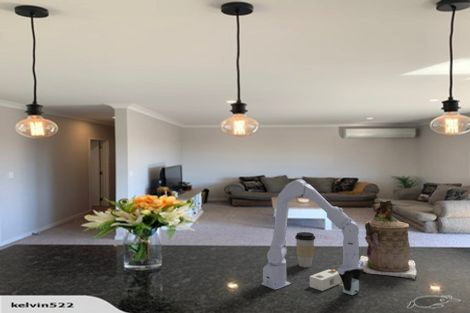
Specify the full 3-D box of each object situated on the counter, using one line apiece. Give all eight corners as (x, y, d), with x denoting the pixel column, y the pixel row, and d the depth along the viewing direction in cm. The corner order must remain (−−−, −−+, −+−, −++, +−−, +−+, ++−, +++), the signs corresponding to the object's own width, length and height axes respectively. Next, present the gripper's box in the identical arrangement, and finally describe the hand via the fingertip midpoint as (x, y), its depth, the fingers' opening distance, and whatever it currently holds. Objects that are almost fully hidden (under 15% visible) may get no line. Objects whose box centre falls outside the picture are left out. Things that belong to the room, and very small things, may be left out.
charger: (337, 290, 141) (337, 278, 141) (344, 287, 144) (344, 275, 144) (359, 297, 134) (359, 285, 134) (366, 294, 137) (366, 282, 137)
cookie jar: (415, 264, 174) (415, 197, 174) (417, 280, 152) (417, 203, 152) (361, 258, 185) (360, 194, 184) (355, 273, 162) (354, 201, 162)
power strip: (309, 286, 146) (309, 274, 146) (335, 276, 158) (335, 265, 158) (322, 290, 142) (322, 278, 141) (348, 280, 153) (348, 268, 153)
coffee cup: (292, 266, 172) (292, 234, 171) (298, 261, 180) (298, 231, 180) (312, 269, 167) (312, 236, 167) (317, 264, 175) (317, 232, 175)
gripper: (349, 259, 131) (349, 296, 132) (370, 251, 141) (370, 286, 141) (332, 255, 137) (333, 291, 137) (354, 248, 146) (354, 282, 146)
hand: (351, 288), depth 139 cm, fingers closed on charger, 4 cm apart
